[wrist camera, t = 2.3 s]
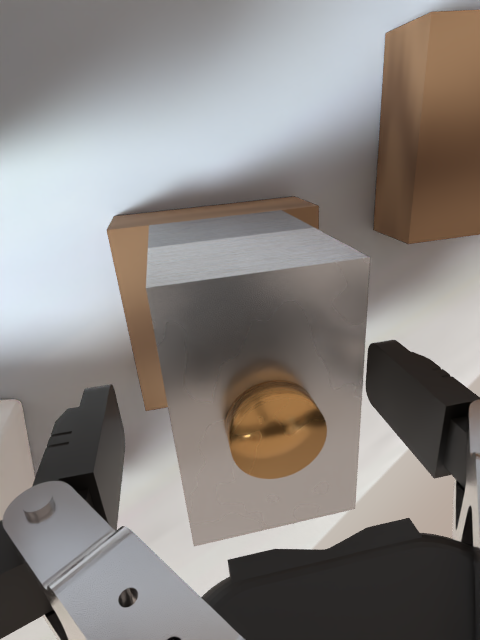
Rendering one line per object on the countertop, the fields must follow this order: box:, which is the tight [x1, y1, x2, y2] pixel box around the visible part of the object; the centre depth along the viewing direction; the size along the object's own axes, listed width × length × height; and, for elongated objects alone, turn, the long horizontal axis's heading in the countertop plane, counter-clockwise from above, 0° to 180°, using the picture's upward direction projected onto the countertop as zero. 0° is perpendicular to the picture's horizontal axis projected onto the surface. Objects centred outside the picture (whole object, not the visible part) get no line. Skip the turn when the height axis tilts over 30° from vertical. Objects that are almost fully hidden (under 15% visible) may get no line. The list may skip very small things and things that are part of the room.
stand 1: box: [107, 196, 319, 411], centre depth 18 cm, size 8×8×3 cm
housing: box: [146, 210, 370, 546], centre depth 13 cm, size 8×5×8 cm, turn 5°
